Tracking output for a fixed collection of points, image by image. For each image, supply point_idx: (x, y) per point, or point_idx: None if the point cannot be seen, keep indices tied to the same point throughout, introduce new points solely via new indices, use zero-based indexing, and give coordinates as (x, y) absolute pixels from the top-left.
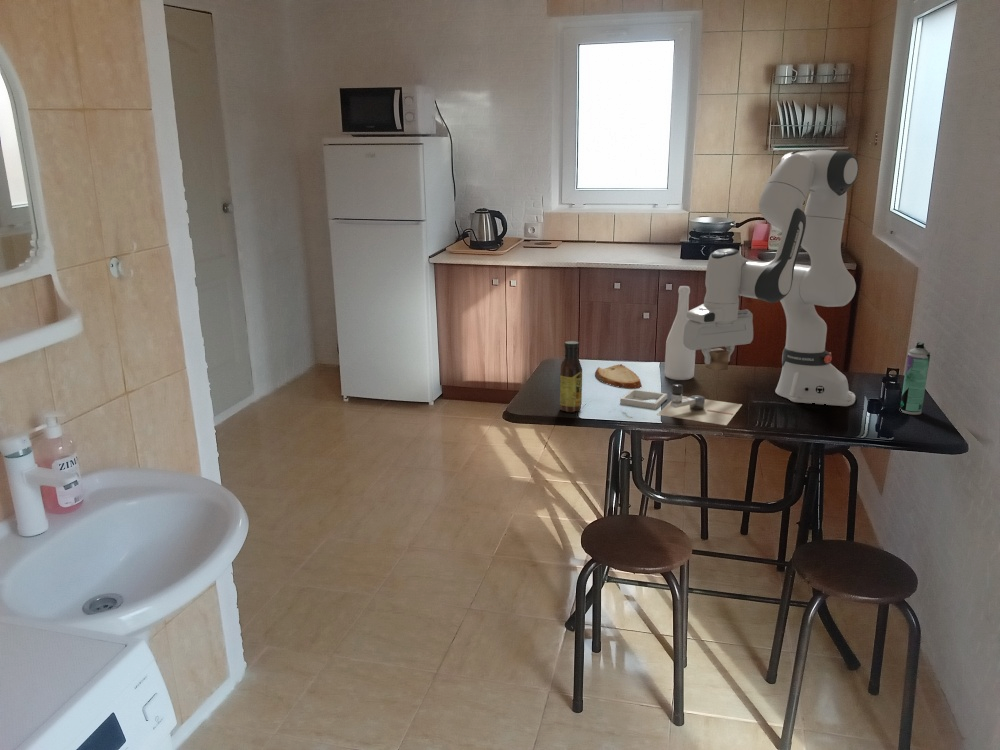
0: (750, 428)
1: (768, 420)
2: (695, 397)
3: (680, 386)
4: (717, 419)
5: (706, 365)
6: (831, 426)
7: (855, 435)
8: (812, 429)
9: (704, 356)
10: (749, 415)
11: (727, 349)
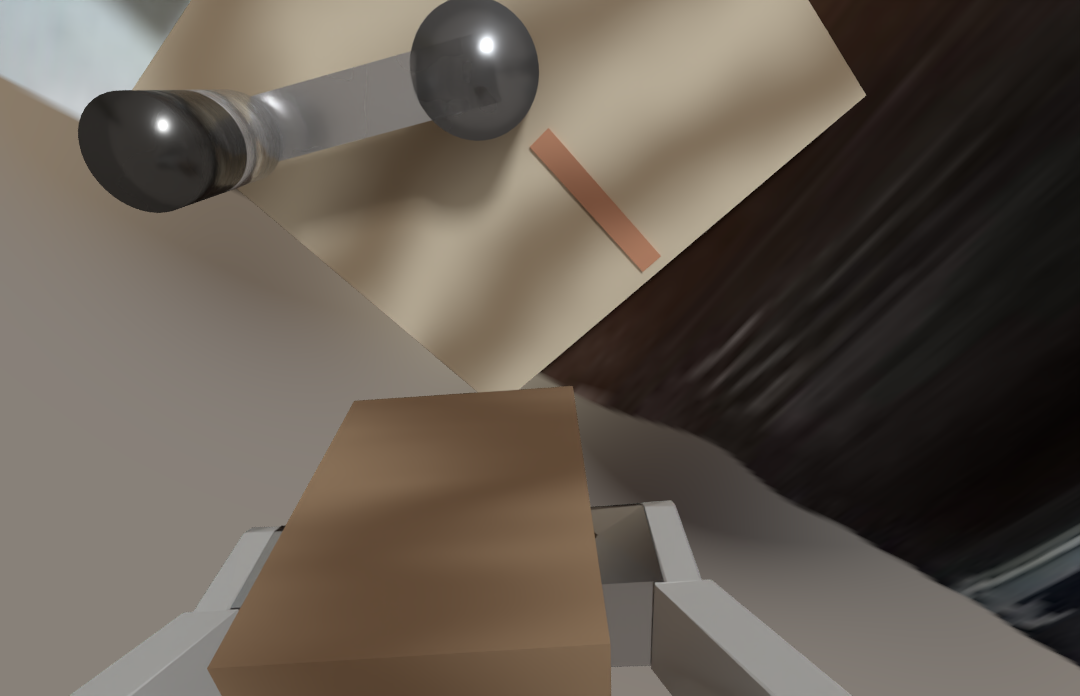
0: (637, 399)
1: (816, 328)
2: (455, 68)
3: (165, 202)
4: (501, 318)
5: (346, 426)
6: (1000, 477)
7: (971, 572)
8: (889, 483)
9: (177, 623)
10: (791, 221)
11: (745, 693)
